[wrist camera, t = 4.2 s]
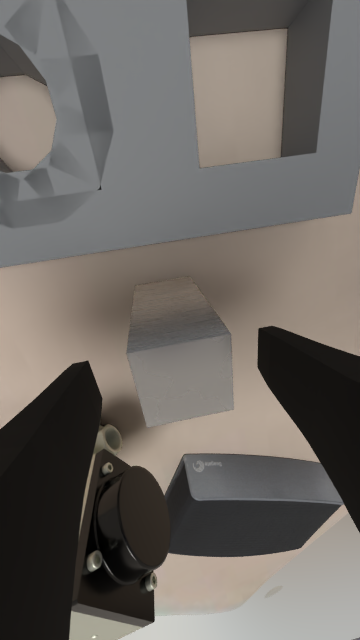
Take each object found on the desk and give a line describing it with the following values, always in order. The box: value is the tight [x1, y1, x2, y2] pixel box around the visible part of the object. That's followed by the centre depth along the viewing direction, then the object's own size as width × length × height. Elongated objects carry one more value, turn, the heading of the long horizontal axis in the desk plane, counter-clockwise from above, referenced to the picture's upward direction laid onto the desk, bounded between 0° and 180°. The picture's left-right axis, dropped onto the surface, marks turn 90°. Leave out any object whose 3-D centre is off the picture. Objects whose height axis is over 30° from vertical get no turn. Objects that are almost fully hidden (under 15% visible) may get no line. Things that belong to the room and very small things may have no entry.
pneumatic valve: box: [69, 424, 171, 640], centre depth 15 cm, size 6×12×12 cm, turn 125°
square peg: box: [127, 276, 234, 428], centre depth 12 cm, size 4×4×8 cm
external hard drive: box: [164, 454, 344, 557], centre depth 26 cm, size 13×19×4 cm
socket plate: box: [0, 0, 360, 268], centre depth 10 cm, size 20×11×3 cm, turn 97°
